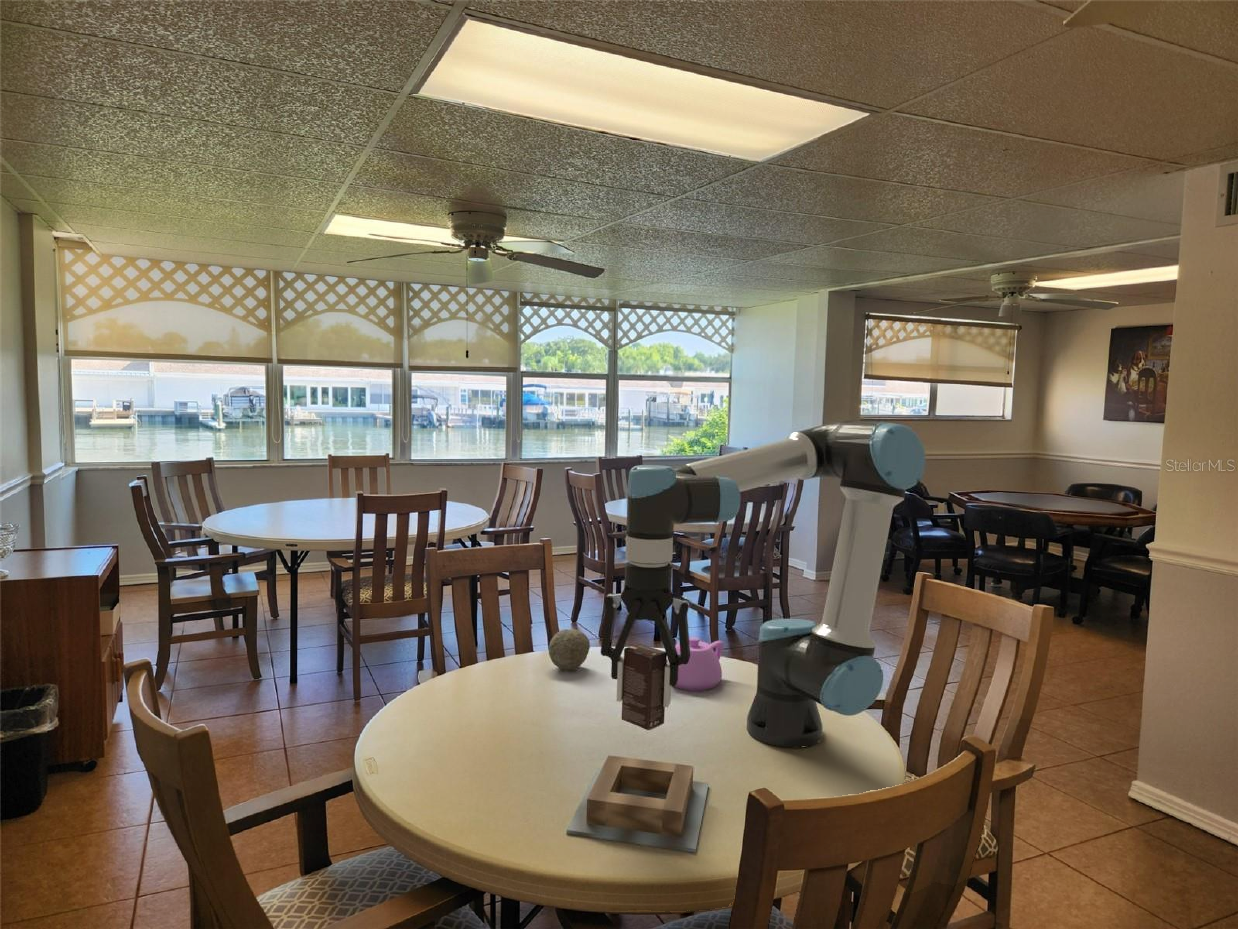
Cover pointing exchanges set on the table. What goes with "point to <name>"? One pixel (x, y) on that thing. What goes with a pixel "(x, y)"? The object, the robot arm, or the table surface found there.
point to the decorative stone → (569, 649)
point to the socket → (642, 804)
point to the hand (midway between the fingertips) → (643, 700)
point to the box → (643, 686)
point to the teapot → (700, 666)
